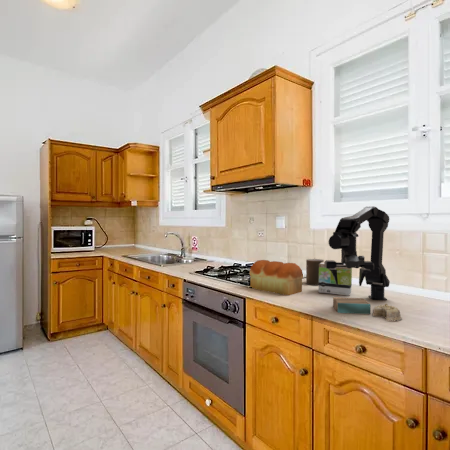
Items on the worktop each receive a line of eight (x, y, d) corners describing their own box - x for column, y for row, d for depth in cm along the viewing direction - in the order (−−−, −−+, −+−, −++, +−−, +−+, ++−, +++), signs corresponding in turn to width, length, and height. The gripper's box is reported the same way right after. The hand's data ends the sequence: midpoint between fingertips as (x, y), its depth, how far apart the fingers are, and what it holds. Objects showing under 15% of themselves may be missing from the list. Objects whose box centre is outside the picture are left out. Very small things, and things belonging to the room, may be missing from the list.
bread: (303, 292, 162) (303, 263, 162) (289, 296, 153) (289, 265, 153) (263, 285, 180) (263, 258, 180) (249, 288, 171) (249, 260, 171)
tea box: (318, 293, 159) (318, 263, 159) (321, 289, 168) (321, 261, 168) (350, 296, 153) (350, 265, 153) (351, 292, 162) (352, 262, 162)
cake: (383, 312, 126) (383, 299, 126) (407, 319, 117) (408, 305, 117) (366, 316, 121) (366, 302, 121) (390, 323, 113) (390, 308, 112)
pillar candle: (319, 286, 177) (319, 258, 176) (303, 283, 183) (303, 257, 183) (326, 283, 184) (326, 257, 184) (310, 281, 190) (310, 256, 190)
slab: (333, 297, 135) (338, 303, 125) (363, 298, 133) (370, 304, 123) (333, 306, 135) (338, 313, 125) (363, 307, 133) (370, 314, 123)
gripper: (328, 249, 126) (328, 288, 126) (379, 250, 123) (378, 290, 124) (324, 247, 137) (324, 283, 137) (370, 247, 135) (369, 284, 135)
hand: (348, 285), depth 133 cm, fingers open, 9 cm apart
